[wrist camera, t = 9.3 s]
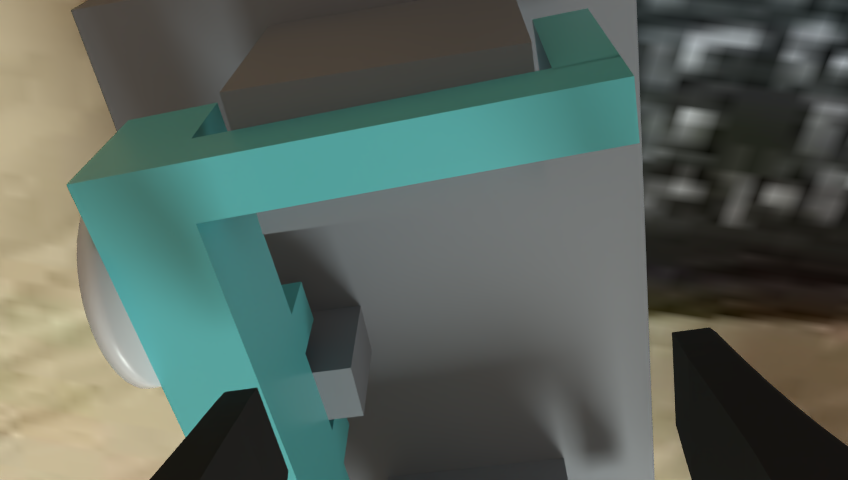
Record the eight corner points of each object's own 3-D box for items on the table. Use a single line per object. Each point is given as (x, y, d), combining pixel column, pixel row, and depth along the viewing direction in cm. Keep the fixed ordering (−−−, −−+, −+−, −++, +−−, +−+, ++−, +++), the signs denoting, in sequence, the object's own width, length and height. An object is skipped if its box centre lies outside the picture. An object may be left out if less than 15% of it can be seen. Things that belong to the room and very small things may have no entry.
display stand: (290, 545, 29) (257, 709, 24) (90, -2, 20) (-37, 72, 14) (648, 509, 28) (696, 673, 23) (622, -95, 18) (694, -51, 13)
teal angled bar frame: (320, 560, 26) (293, 731, 21) (134, 100, 18) (27, 206, 14) (642, 520, 25) (689, 691, 20) (587, 8, 17) (643, 90, 12)
